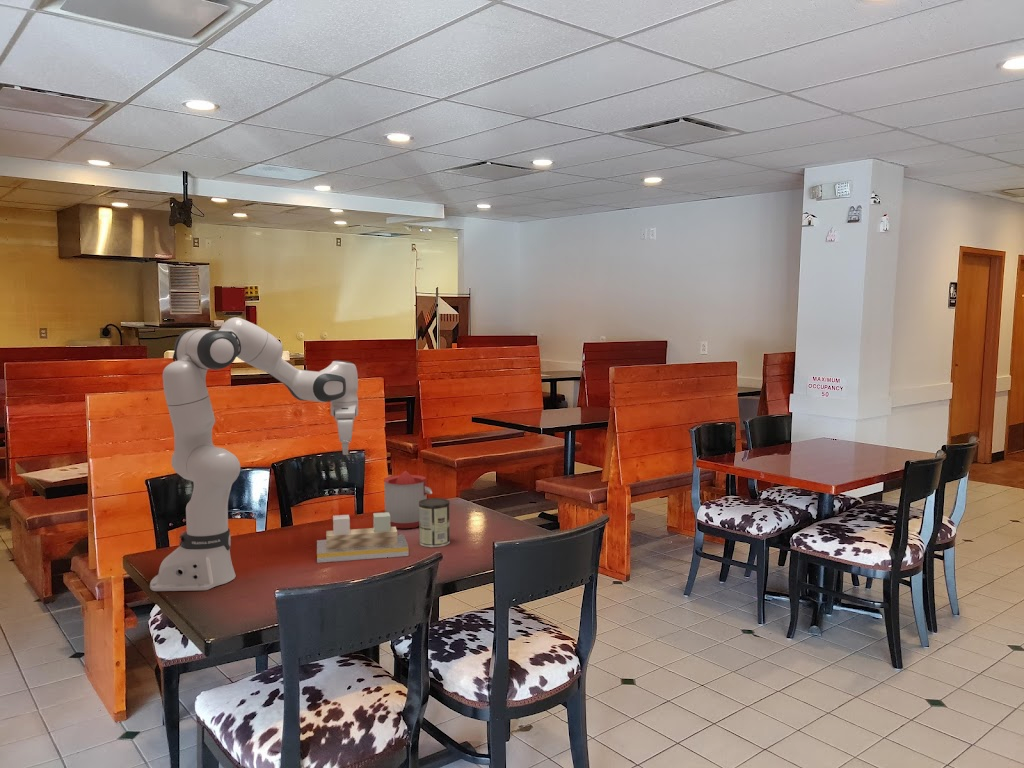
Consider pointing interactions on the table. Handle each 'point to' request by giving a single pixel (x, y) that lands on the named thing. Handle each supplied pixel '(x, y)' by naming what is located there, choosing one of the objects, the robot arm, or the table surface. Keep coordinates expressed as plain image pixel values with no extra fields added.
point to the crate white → (341, 524)
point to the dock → (361, 551)
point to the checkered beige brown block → (361, 538)
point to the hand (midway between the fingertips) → (345, 451)
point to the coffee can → (434, 522)
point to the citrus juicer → (405, 498)
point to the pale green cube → (381, 522)
